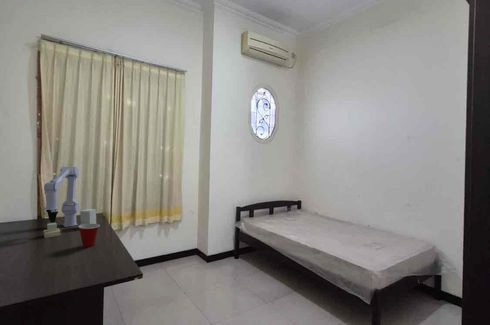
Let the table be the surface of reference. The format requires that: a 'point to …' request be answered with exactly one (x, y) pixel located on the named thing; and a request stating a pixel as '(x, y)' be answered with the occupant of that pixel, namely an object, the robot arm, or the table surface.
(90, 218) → the supplement box
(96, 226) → the plastic cup
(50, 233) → the beech base
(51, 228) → the sage cube
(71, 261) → the table surface
